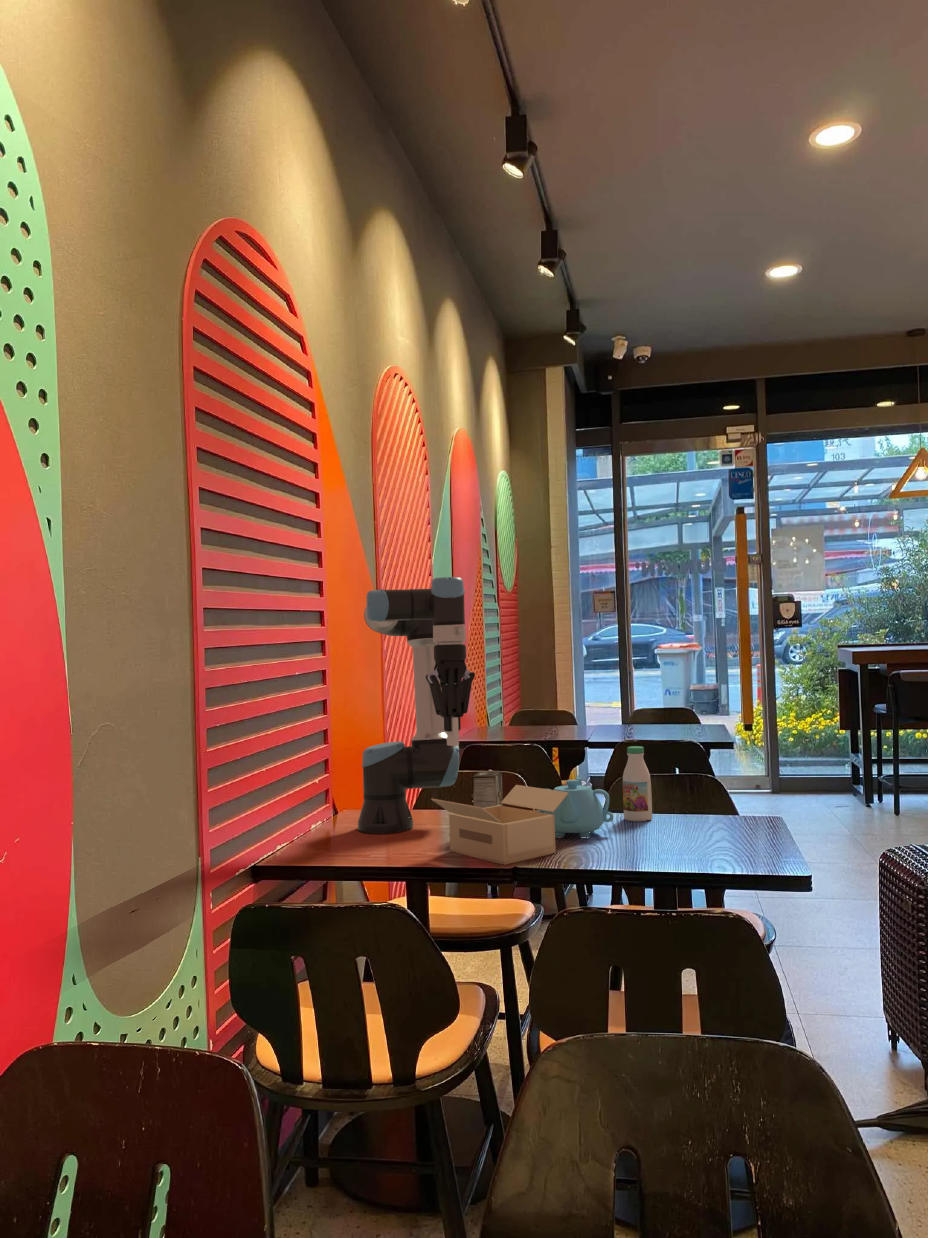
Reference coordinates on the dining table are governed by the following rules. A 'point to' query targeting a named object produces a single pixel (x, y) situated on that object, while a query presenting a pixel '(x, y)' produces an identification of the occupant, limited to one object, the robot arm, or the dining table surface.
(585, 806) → the teapot
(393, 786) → the robot arm
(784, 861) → the dining table surface
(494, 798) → the coffee box
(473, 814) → the near flap
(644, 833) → the dining table surface
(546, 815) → the carton
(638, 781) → the milk bottle
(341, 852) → the dining table surface
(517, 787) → the far flap
